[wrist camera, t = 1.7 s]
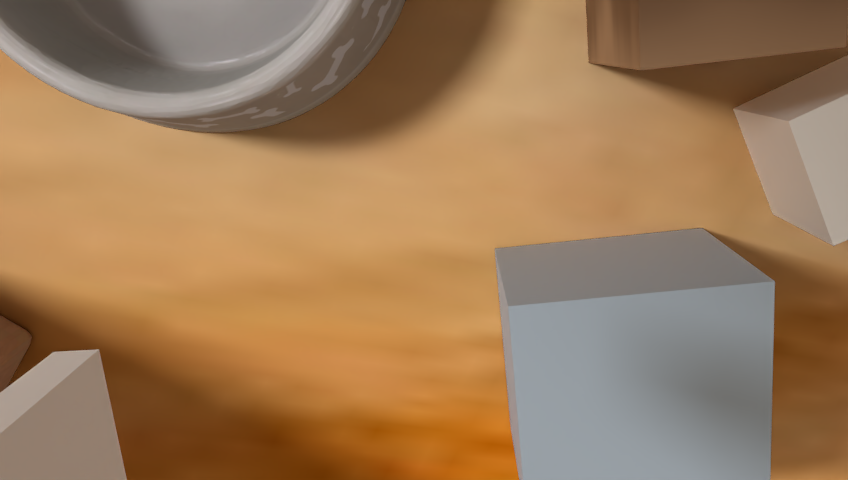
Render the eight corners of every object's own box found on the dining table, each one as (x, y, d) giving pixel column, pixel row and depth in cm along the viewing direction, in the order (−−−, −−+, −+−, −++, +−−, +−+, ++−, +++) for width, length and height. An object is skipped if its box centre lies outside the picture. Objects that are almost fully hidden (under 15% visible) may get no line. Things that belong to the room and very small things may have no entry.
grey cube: (732, 108, 29) (788, 121, 24) (850, 52, 28) (933, 55, 23) (771, 213, 30) (833, 245, 25) (887, 163, 29) (972, 186, 25)
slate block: (494, 248, 31) (507, 306, 24) (702, 227, 30) (774, 281, 24) (510, 428, 33) (526, 527, 27) (703, 412, 33) (769, 509, 26)
